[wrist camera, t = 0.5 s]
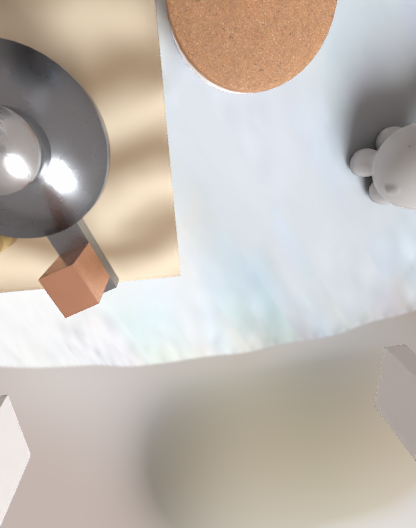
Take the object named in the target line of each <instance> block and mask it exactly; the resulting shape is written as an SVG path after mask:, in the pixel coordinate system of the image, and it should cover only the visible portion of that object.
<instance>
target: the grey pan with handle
mask: <svg viewBox="0 0 416 528" xmlns="http://www.w3.org/2000/svg"><path fill="white" fill-rule="evenodd" d="M110 162H111V152H110V142H109V137H108V132H107V129H106V126H105V123H104V120H103V118H102V116H101V113H100V111H99V109H98V107H97V106H96V104H95V102H94V100H93V99H92V97H91V96H90V95H89V93H88V92H87V90H86V89H85V88H84V87H83V85H82V84H81V83H80V82H79V81H78V80H77V79H76V78H75V77H74V76H73V75H72V74H71V73H69V72H68V71H67V70H66V69H65V68H64V67H62V66H61V65H59V64H58V63H56V62H55V61H53V60H52V59H50V58H49V57H47V56H46V55H44V54H42V53H40V52H38V51H37V50H35V49H33V48H31V47H29V46H26V45H23V44H21V43H18V42H15V41H12V40H7V39H3V38H0V235H1V236H5V237H12V238H28V239H30V238H40V237H45V236H47V238H48V239H49V241H50V242H51V244H52V245H53V247H54V248H55V250H56V251H57V253H58V254H59V257H58V258H57V259H56V260H55V261H54V262H53V264H52V265H51V266H50V267H49V268H48V269H47V270H46V271H45V273H44V274H43V275H42V276H41V277H40V278H39V279H38V281H39V282H40V283H41V285H42V286H43V288H44V289H45V290H46V292H47V293H48V295H49V296H50V297H51V299H52V300H53V301H54V303H55V304H56V306H57V307H58V308H59V310H60V311H61V313H62V314H63V315H64V317H65V318H67V317H69V316H71V315H73V314H76V313H78V312H80V311H83V310H85V309H87V308H89V307H92V306H94V305H96V304H99V302H100V299H101V297H102V294H103V293H104V292H107V291H109V290H111V289H113V288H116V287H117V284H118V281H119V278H118V276H117V275H116V273H115V271H114V270H113V268H112V267H111V265H110V263H109V262H108V260H107V258H106V257H105V255H104V253H103V252H102V250H101V248H100V247H99V245H98V243H97V242H96V240H95V238H94V237H93V235H92V233H91V232H90V230H89V228H88V227H87V225H86V223H85V222H84V220H83V217H84V216H85V215H86V214H87V213H88V212H89V211H90V210H91V209H92V208H93V207H94V205H95V204H96V203H97V201H98V200H99V198H100V196H101V195H102V193H103V191H104V189H105V186H106V183H107V180H108V176H109V171H110Z"/></svg>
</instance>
